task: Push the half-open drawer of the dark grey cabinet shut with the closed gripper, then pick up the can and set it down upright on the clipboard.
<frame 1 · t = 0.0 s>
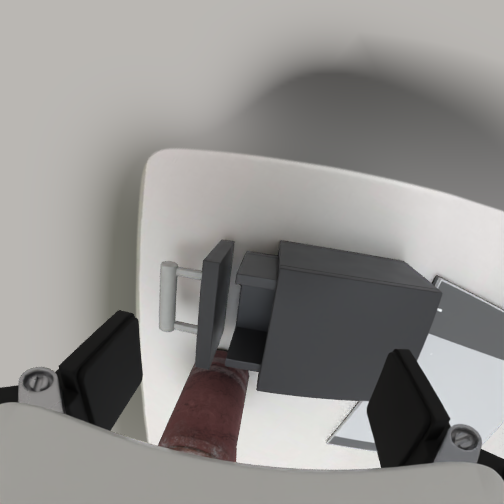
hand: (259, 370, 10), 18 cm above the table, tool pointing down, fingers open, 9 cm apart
dark grey cabinet: (334, 302, 29), on the table
drawer: (251, 308, 25), point 4 cm above the table, slide at 4.0 cm
can: (223, 369, 32), on the table
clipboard: (464, 394, 30), on the table
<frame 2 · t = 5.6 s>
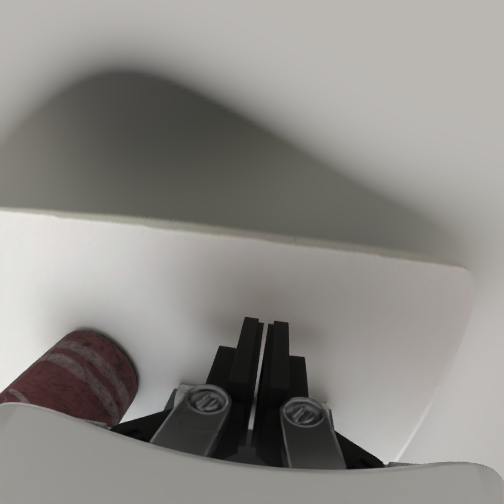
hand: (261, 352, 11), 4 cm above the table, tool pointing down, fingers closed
drawer: (239, 480, 13), point 4 cm above the table, slide at 3.3 cm, touching gripper
can: (102, 366, 18), on the table
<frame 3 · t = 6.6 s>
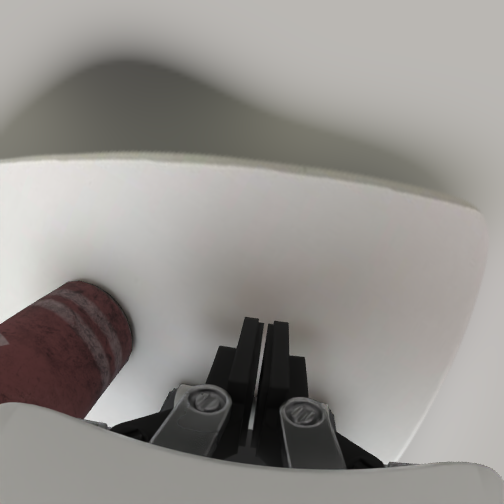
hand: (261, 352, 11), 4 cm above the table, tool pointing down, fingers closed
drawer: (239, 480, 13), point 4 cm above the table, slide at 0.0 cm, touching dark grey cabinet, gripper
can: (95, 324, 17), on the table
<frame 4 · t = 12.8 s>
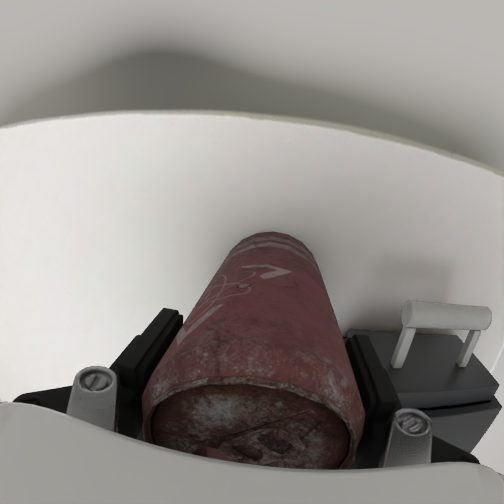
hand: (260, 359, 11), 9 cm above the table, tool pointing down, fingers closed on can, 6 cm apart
dark grey cabinet: (374, 403, 22), on the table
drawer: (405, 402, 16), point 4 cm above the table, slide at 0.0 cm, touching dark grey cabinet
can: (270, 278, 20), on the table, touching gripper
when the fingers open (9 cm above the table, at t = 21.2 s): can stays where it is, resting on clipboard.
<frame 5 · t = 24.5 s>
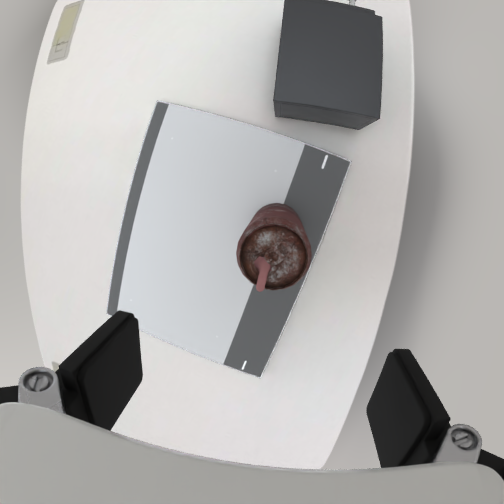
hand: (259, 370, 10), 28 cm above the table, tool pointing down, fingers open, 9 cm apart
dark grey cabinet: (322, 76, 32), on the table
drawer: (328, 38, 27), point 4 cm above the table, slide at 0.0 cm, touching dark grey cabinet
can: (276, 228, 37), resting on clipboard
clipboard: (209, 246, 39), on the table, touching can
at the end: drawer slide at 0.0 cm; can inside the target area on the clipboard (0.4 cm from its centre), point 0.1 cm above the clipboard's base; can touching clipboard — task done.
